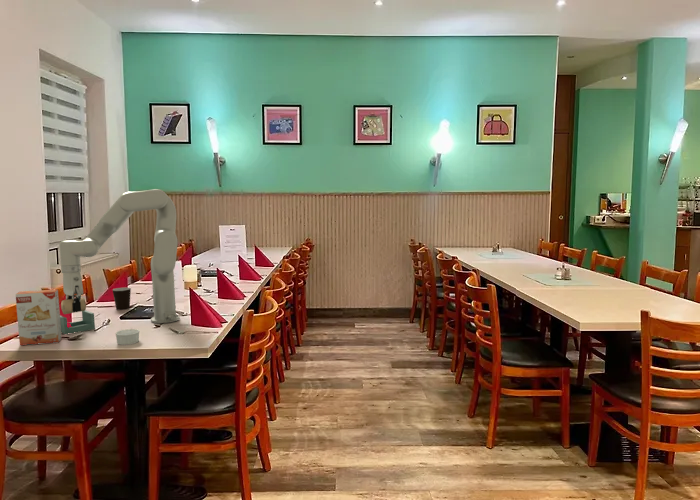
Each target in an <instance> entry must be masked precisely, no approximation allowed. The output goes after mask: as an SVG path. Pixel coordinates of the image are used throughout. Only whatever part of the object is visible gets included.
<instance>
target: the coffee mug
mask: <svg viewBox="0 0 700 500" xmlns="http://www.w3.org/2000/svg"><path fill="white" fill-rule="evenodd" d="M131 292H132V287H116V288H113V289H112V295H113V298H114V299H113V300H114V304H115V310H117V311H122V310H123V311H125V310H129V309H130V307H131V306H130V305H131Z"/></svg>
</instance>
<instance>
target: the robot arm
mask: <svg viewBox="0 0 700 500" xmlns="http://www.w3.org/2000/svg"><path fill="white" fill-rule="evenodd" d="M175 205H176V204H174V201H173V200H172V198H171V197H170V196H169V195H167V193H166V192H165V191H164V190H162V189H157V188H153V189H147V190H140V191H126V192H123V193H122V194H121V195H120V196H119V197H118V198H117V199H116V201H114V203H113V204H112V205H111V207H110V208H109V209H108V210H107V211H106V212H105V213H104V215H102V216H101V218H100V220H99V221H98V222H97V224H96V225H95V226H94V228H93V229H92V230H91V231H90V232H89V233H88V234H87V236H85V238H84V239H83V240H75V239H70V240H69V239H67V240H61V241H60V242H59V257H60V259H59V260H60V273H61V274H62V287H63V288H62V289H63V293H64V294H65V295H64V296H65V300H68V299H73V303H72V307H73V312H75V313H78V312H77V311H81V300H80V299H81V298H82V295H84V286H83V280H82V279H83V278H82V275H81V273H82V268H81V264H82V263H81V257H83V258H84V257H85V258H91V257H94V256H96V255H97V254H98V252H99V250H100V249H101V248H102V247H103V245H104V244H105V243H106V242H107V241H108V239H109V238H111V236H113V234H115V233H116V232H118V231H119V230H120V229H121V228H122V226H123V225H124V224H125V223H126V221H127V220H128V219H129V218H130V217H131V216H132V215H133V214H134V212H145V211H152V210H155V212H156V223H155V233H154V237H153V241H154V249H153V256H152V257H151V260H150V273H151V283H152V284H151V286H152V297H153V298H152V299H153V301H152V302H153V303H152V304H153V316H152V317H151V318H150V322H151V323H153V324H167V323H173V322H177V321H179V320H180V319H181V317H180V315H178V314H177V309H176V307H177V306H176V292H175V290H176V289H175V288H176V287H175V275H174V270H175V267H176V263H177V261H176V260H177V254H178V246H179V245H178V244H179V243H178V241H179V240H178V236H177V233H176V230H177V229H176V227H177V208H176V206H175ZM81 312H82V311H81Z"/></svg>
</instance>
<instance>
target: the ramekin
mask: <svg viewBox="0 0 700 500" xmlns="http://www.w3.org/2000/svg"><path fill="white" fill-rule="evenodd" d="M114 334H115V337H116V343H117V345H120V346H126V345H127V346H128V345H133V344H136V343H138V342H139V340H140V330H139V329H136V328H131V329H129V328H128V329H121V330H117V331H116V332H115V333H114Z"/></svg>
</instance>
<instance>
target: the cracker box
mask: <svg viewBox="0 0 700 500" xmlns="http://www.w3.org/2000/svg"><path fill="white" fill-rule="evenodd" d="M15 303H16V304H15V305H16V316H17V328H18V339H19V341H18V342H19V346H20V345H21V346H28V345H27V344H33V345H39V344H38V343H45V344H54V343H53V342H58V343H59V342H60V341H61V340H62V333H61V323H60V316H61V313H60V312H61V311H60V299H59V289H45V290H44V289H43V290H42V289H41V290H39V289H38V290H25V291H24V290H23V291H18V292H17V293H15Z"/></svg>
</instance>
